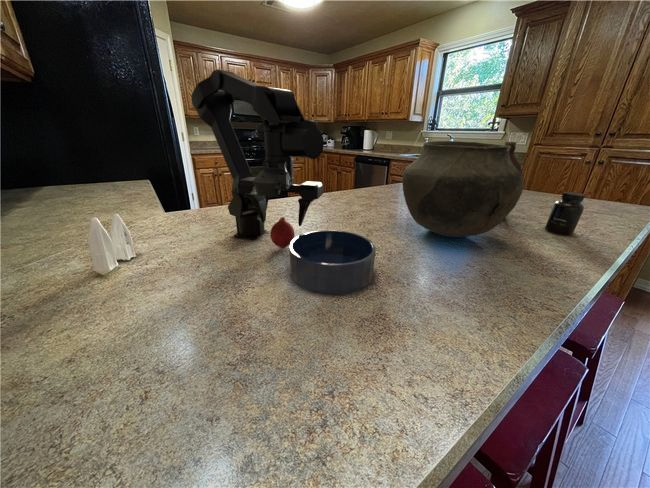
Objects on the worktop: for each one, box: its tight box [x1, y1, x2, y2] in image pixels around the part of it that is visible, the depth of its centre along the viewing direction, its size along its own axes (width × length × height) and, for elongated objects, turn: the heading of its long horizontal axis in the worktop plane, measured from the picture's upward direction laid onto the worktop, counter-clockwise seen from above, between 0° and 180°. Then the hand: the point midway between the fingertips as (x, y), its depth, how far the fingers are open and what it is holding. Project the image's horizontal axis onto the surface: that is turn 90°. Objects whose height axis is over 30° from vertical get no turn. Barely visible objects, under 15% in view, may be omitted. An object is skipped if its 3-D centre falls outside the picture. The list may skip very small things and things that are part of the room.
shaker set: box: [87, 213, 136, 276], centre depth 54 cm, size 12×4×11 cm, turn 9°
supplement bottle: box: [544, 191, 586, 237], centre depth 80 cm, size 7×7×12 cm
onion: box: [269, 216, 296, 249], centre depth 65 cm, size 6×6×8 cm
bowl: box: [288, 229, 377, 295], centre depth 55 cm, size 17×17×6 cm
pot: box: [401, 140, 525, 238], centre depth 74 cm, size 29×32×25 cm
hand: (281, 223), depth 64 cm, fingers open, 9 cm apart
